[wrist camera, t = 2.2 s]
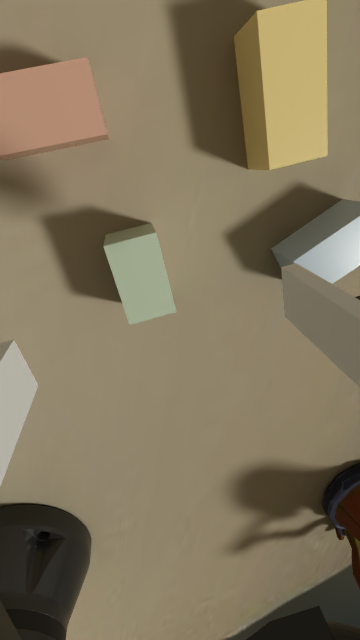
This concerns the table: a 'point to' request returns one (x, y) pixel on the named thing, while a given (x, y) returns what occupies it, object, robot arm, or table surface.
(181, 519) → the table surface
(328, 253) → the slate brick
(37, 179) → the table surface
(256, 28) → the ochre brick
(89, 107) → the terracotta brick
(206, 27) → the table surface
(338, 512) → the mug
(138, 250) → the sage brick
